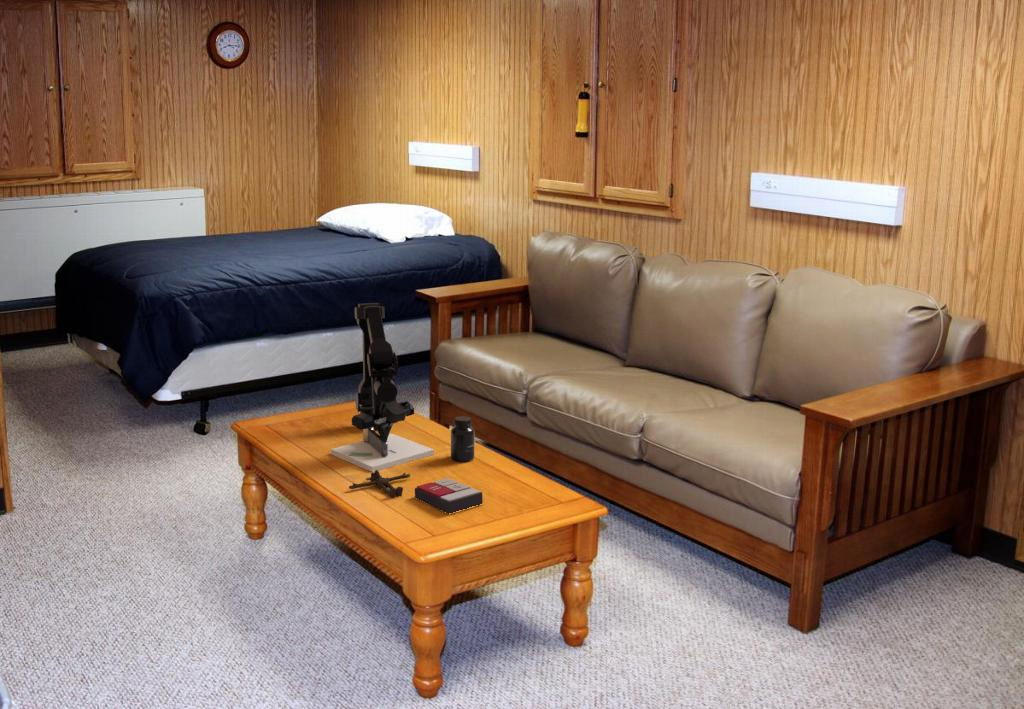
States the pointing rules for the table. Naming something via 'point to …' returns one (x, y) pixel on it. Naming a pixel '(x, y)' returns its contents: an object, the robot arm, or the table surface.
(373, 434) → the pointer
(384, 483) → the black cross stand base
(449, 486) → the red grey black box
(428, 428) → the table surface
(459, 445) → the supplement bottle
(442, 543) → the table surface
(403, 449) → the dial board
